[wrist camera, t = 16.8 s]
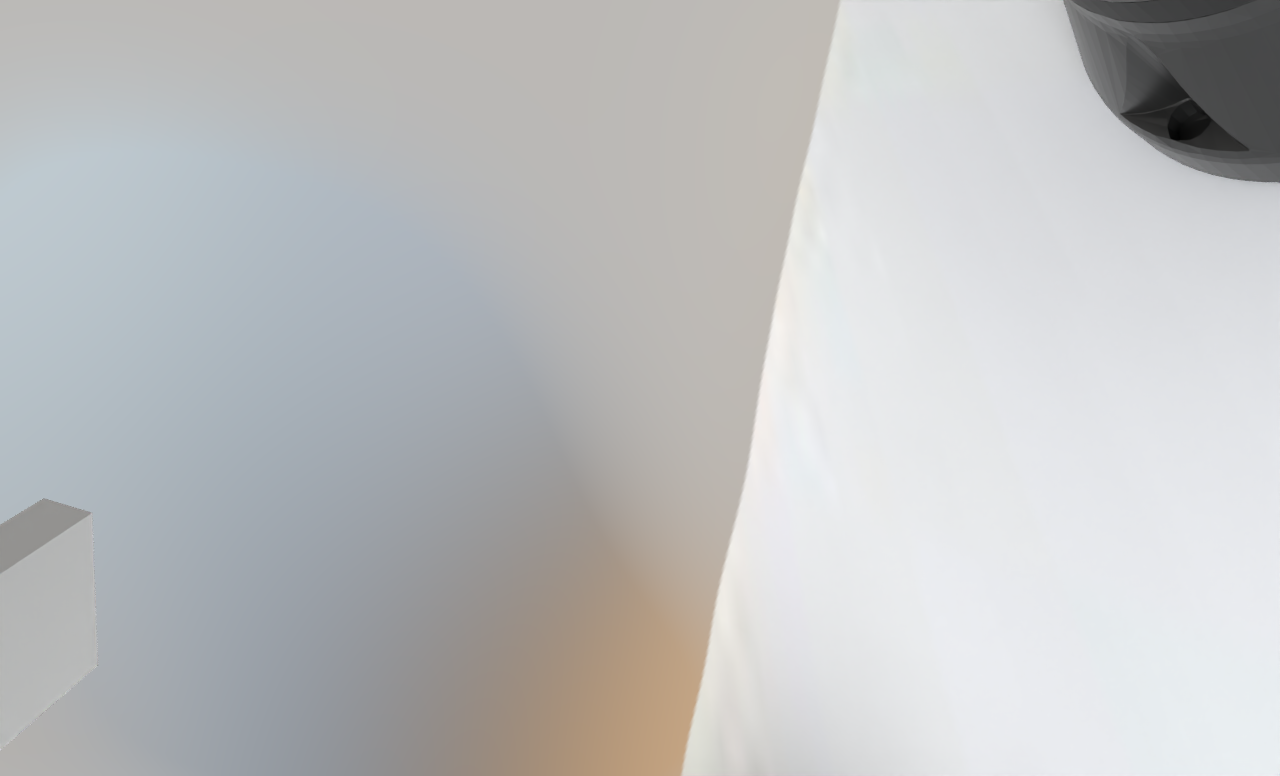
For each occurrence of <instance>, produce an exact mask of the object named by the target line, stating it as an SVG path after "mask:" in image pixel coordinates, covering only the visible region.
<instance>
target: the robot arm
mask: <svg viewBox="0 0 1280 776" xmlns="http://www.w3.org/2000/svg"><path fill="white" fill-rule="evenodd" d="M1063 1H1064V4H1065V7H1066V11H1067V14H1068V17H1069V20H1070V23H1071V26H1072V29H1073V33H1074V36H1075V39H1076V42H1077V45H1078V48H1079V51H1080V54H1081V58H1082V61H1083V64H1084V67H1085V69H1086V72H1087V74H1088V76H1089V79H1090V80H1091V82H1092V84H1093V86H1094V88H1095V90H1096V91H1097V92H1098V94H1099V95H1100V97H1101V98H1102V100H1103V101H1104V103H1105V104H1106V105H1107V107H1108V108H1109V109H1110V110H1111V111H1112V112H1113V114H1114V115H1115V116H1116V117H1117V118H1118V119H1119V120H1120V121H1121V122H1123V123H1124V124H1125V125H1126V126H1127V127H1129V128H1130V129H1131V130H1132V131H1134V132H1135V133H1136V134H1138V135H1139V136H1140V137H1142V138H1143V139H1144V140H1145V141H1147V142H1148V143H1149V144H1151V145H1152V146H1153V147H1155V148H1156V149H1157V150H1159V151H1160V152H1162V153H1163V154H1165V155H1166V156H1168V157H1170V158H1172V159H1174V160H1176V161H1178V162H1180V163H1181V164H1184V165H1186V166H1189V167H1191V168H1194V169H1196V170H1199V171H1202V172H1206V173H1209V174H1212V175H1217V176H1221V177H1226V178H1231V179H1238V180H1245V181H1258V182H1280V0H1063ZM92 520H93V518H92V513H91V512H88V511H84V510H81V509H77V508H74V507H71V506H68V505H64V504H61V503H58V502H54V501H51V500H48V499H42V500H40V501H39V502H37V503H35V504H34V505H32V506H31V507H29V508H27V509H26V510H24V511H22V512H21V513H19V514H17V515H16V516H14V517H12V518H11V519H9V520H7V521H6V522H4V523H3V524H1V525H0V750H1V749H3V748H4V747H5V746H6V745H7V744H8V743H10V742H11V741H12V740H13V739H14V738H15V737H16V736H18V735H19V734H20V733H21V732H22V731H23V730H24V729H25V728H27V727H28V726H29V725H30V724H31V723H32V722H33V721H35V720H36V719H37V718H38V717H39V716H40V715H42V714H43V713H44V712H45V711H46V710H47V709H48V708H50V707H51V706H52V705H53V704H54V703H55V702H57V701H58V700H59V699H60V698H61V697H62V696H63V695H65V693H67V692H68V691H69V690H70V689H71V688H73V687H74V686H75V685H76V684H77V683H78V682H79V681H81V680H82V679H83V678H84V677H85V676H86V675H87V674H89V673H90V672H91V671H92V670H93V669H94V668H95V667H96V666H98V653H97V626H96V600H95V575H94V574H95V573H94V545H93V521H92Z"/></svg>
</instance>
